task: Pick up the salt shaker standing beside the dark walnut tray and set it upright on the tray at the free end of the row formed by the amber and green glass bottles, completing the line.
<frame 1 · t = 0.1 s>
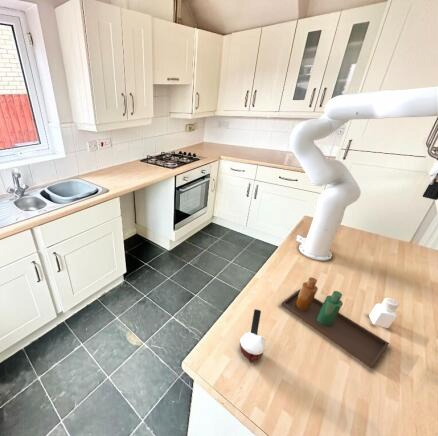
hand: (434, 194, 74), 37 cm above the counter, tool pointing down, fingers open, 9 cm apart
cocoa: (250, 352, 69), on the counter
green bottle: (324, 320, 77), point 1 cm above the counter, touching tray
salt shaker: (377, 323, 77), on the counter
tray: (328, 325, 76), on the counter
amber bottle: (302, 306, 82), point 1 cm above the counter, touching tray
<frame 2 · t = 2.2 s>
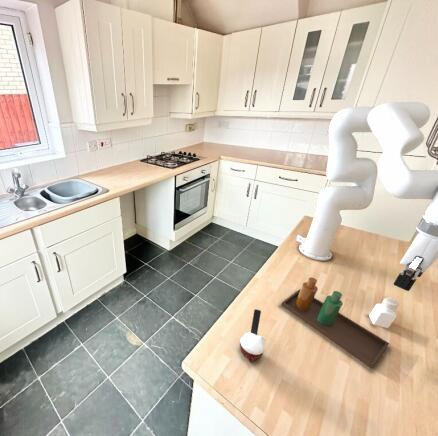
hand: (406, 280, 68), 18 cm above the counter, tool pointing down, fingers open, 9 cm apart
nothing on the counter moved.
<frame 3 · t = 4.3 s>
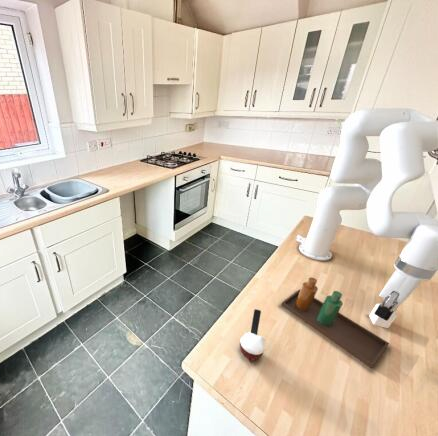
hand: (384, 312, 75), 5 cm above the counter, tool pointing down, fingers closed on salt shaker, 5 cm apart
salt shaker: (377, 323, 77), on the counter, touching gripper
everything else where it was.
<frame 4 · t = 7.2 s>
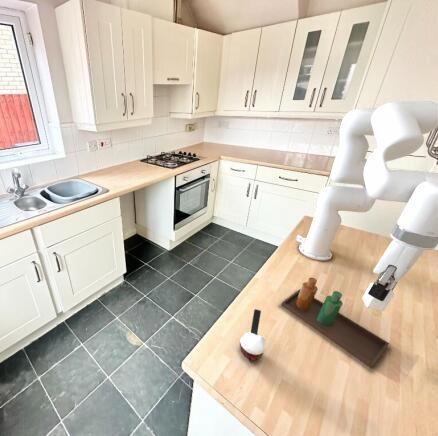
hand: (380, 292, 64), 18 cm above the counter, tool pointing down, fingers closed on salt shaker, 5 cm apart
salt shaker: (372, 305, 67), point 13 cm above the counter, touching gripper
everything else where it was.
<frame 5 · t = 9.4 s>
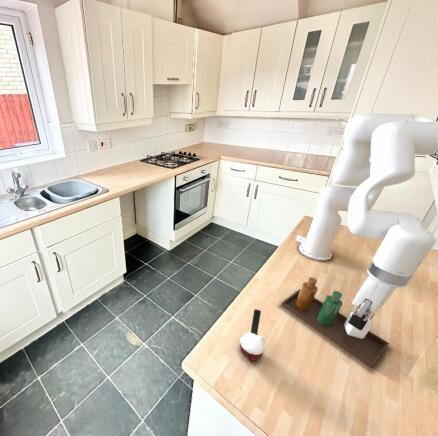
hand: (359, 320, 69), 8 cm above the counter, tool pointing down, fingers closed on salt shaker, 5 cm apart
salt shaker: (352, 332, 71), point 3 cm above the counter, touching gripper
everything else where it was.
when the fingers open (5 cm above the counter, at t = 10.5 s): salt shaker stays where it is, resting on tray.
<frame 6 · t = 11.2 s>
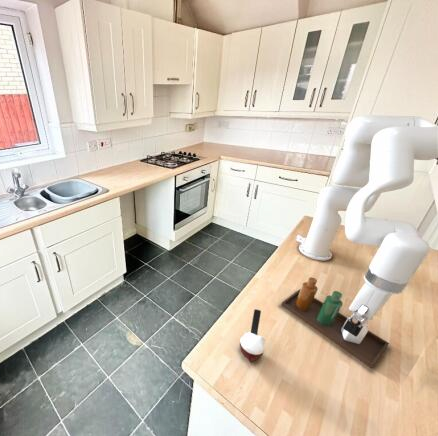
hand: (357, 323, 69), 7 cm above the counter, tool pointing down, fingers open, 9 cm apart
salt shaker: (349, 337, 72), resting on tray
everything else where it was.
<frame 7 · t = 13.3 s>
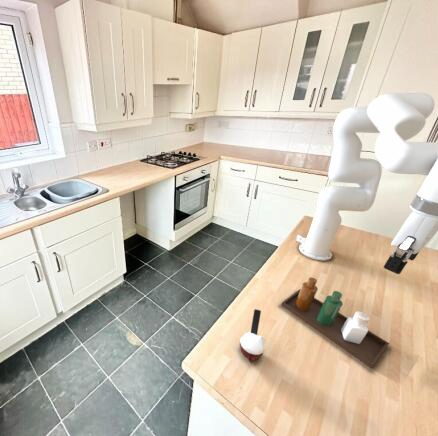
hand: (398, 263, 64), 25 cm above the counter, tool pointing down, fingers open, 9 cm apart
nothing on the counter moved.
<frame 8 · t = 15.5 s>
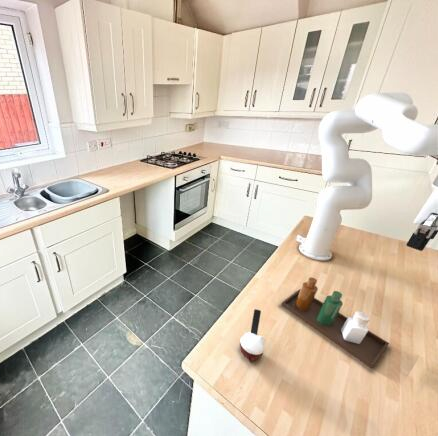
hand: (419, 242, 67), 28 cm above the counter, tool pointing down, fingers open, 9 cm apart
nothing on the counter moved.
at the end: salt shaker 0.1 cm from the target spot in the tray, point 0.4 cm above the tray's base; salt shaker tilted 0°; the gripper is holding nothing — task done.
